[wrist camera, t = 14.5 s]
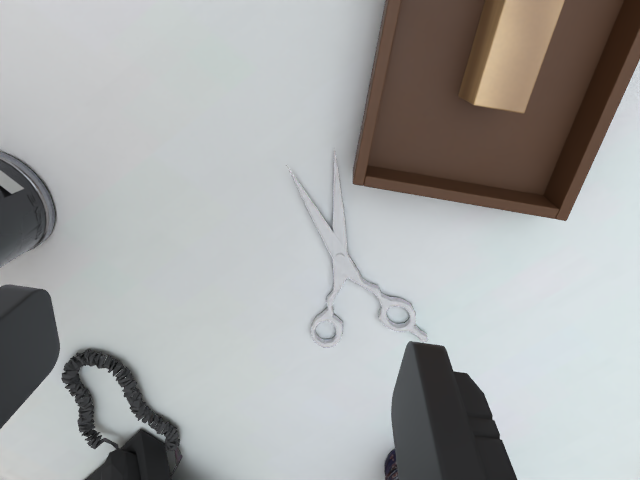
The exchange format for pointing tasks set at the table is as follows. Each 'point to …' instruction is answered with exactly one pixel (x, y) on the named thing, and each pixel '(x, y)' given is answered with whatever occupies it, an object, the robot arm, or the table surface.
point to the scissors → (348, 270)
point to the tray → (486, 123)
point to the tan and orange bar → (508, 52)
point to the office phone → (142, 449)
